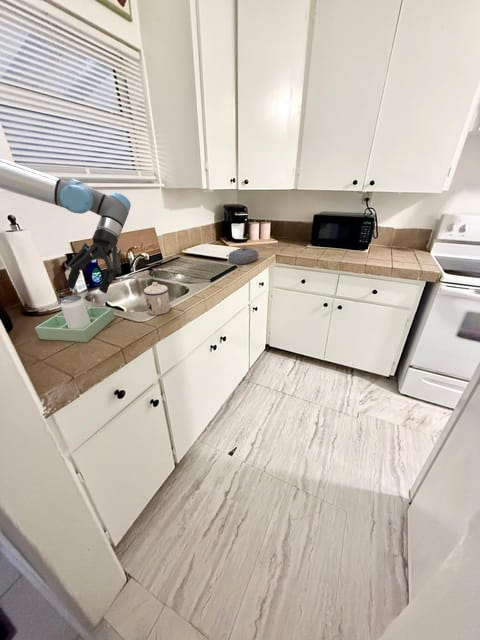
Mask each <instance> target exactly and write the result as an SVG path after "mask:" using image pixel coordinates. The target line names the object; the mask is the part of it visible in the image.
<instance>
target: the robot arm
mask: <svg viewBox="0 0 480 640" xmlns="http://www.w3.org/2000/svg"><path fill="white" fill-rule="evenodd" d="M0 190H4V191H8V192H11V193H14V194H18V195H20V196H25V197H27V198H31V199H34V200H38V201H41V202H44V203H48V204H51V205H54V206H57V207H60V208H63V209H66V210H67V211H68V212H71V213H73V214H79V215H80V214H85V213H87V212H91V213H93V214H96V215H97V216H100V219H99V221H98V223H97V225H96V227H95V228H96V229H95V230H94V233H93V235H92V244H91V245H89V244H87V243H83V245H82V247H81V249H80V250H79V251H78V252H76V254H75V255H73V257H72V258H71V260H70V261H69V262H68V263H67V267H68V268H70V271H69V273H68V277H67V280H66V283H65V285H64V286H65V287H67V288H69V289H71V290H74V289H75V286H76V284H77V282H78V279H79V277H80V275H81V270H83V268H84V267H86V266H87V265H88V264H90V263H91V262H92V261H95V260H103V261H104V263H105V266H106V271H105V272H104V275H103V278H102V279H101V281H100V285H99V288H98V291H100V292H102V293H103V294H107V293H108V290H109V287H110V285H111V284H112V283H113V280H114V277H116V276H117V275H121V274H122V263H121V252H122V250H121V249H120V248H119V247H118V246H117V245H118V242H119V239H120V237H121V234H122V231H123V229H124V226H125V225H126V222H127V218H128V217H129V213H130V210H131V206H132V204H131V201H130V200H129V198H127V197H126V195H124V194H122V193H118V192H111V193H110V195H107V194H106V193H103V192H101V191H99V190H97V189H95V188H93V187H91V186H90V185H88V184H86V183H84V182H83V181H80V180H78V179H75V178H70V179H68V181H67V180H63V179H61V178H57V177H55V176H52V175H49V174H46V173H43V172H40V171H37V170H35V169H31V168H28V167H26V166H23V165H20V164H17V163H14V162H11V161H8V160H5V159H3V158H0Z"/></svg>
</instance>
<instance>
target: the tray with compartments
mask: <svg viewBox="0 0 480 640" xmlns="http://www.w3.org/2000/svg"><path fill="white" fill-rule="evenodd" d="M86 309H87V312H88V316H89V319H90V322H91V324H89V325H88V326H87V327H86V328H84V329H83V330H81V329H69V328H68V325H67V323H66V320H65V317H64V314H63V311H62V310H61V311H60V312H58V313H56V314H55V315H53V316H52V317H50V318H48V319H46V320H44V321H43V322H42V323H39V325H36V326H35V327H34V329H35V331H36V334H37V336H38V339H39V340H49V341H65V342H81V343H88V342H89V341H90V340H92V339H93V338H94V337H95V336H96V335H98V333H100V332H101V331H102V330H103V329H105V327H107V326H108V325H109V324H110V323H112V322H113V321H114V320H115V319H116V317H115V313H114V310H113V307H98V306H86Z"/></svg>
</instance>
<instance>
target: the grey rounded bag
mask: <svg viewBox="0 0 480 640" xmlns="http://www.w3.org/2000/svg"><path fill="white" fill-rule="evenodd" d="M258 258H259V252H258V251H257V250H256V249H255V248H251V247H240V248H237V249H235V250H232V251H230V252H229V253H228V261H229V262H230V263H232V264H234V265H247V264H251V263H253V262H256V261H257V260H258Z"/></svg>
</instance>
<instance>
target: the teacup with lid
mask: <svg viewBox="0 0 480 640" xmlns="http://www.w3.org/2000/svg"><path fill="white" fill-rule="evenodd" d="M143 294H144V298H145V303H146V309H147V313H148V314H150V315H152V316H153V315H154V316H157V315H159V316H161V315H164V314H166V313H168V312H170V311H171V303H170V295H169V288H168V286H167V285H165V284H160V283H158V282H157V281H152V283H151V285H149V286H147V287H145V288H144V289H143Z"/></svg>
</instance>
